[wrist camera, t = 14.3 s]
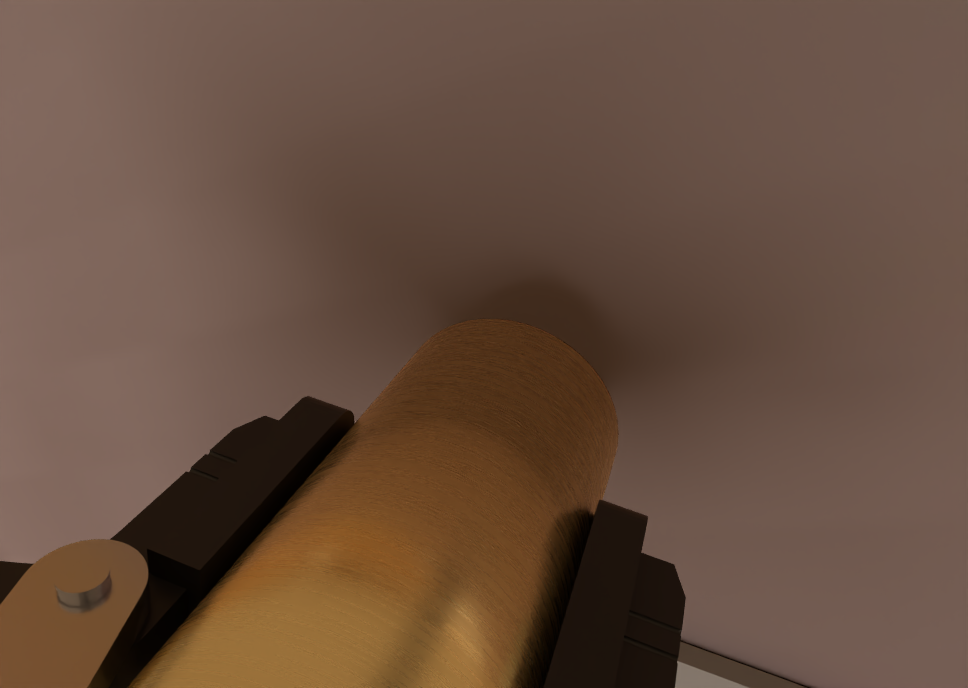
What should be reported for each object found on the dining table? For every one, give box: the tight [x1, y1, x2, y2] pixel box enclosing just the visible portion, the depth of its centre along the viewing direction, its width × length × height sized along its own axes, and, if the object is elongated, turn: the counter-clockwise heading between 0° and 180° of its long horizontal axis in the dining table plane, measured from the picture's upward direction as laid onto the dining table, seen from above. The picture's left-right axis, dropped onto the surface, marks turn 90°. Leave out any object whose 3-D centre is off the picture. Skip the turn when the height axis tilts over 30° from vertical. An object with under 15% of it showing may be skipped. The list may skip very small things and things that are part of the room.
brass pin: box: [127, 319, 619, 688], centre depth 9 cm, size 4×4×9 cm
